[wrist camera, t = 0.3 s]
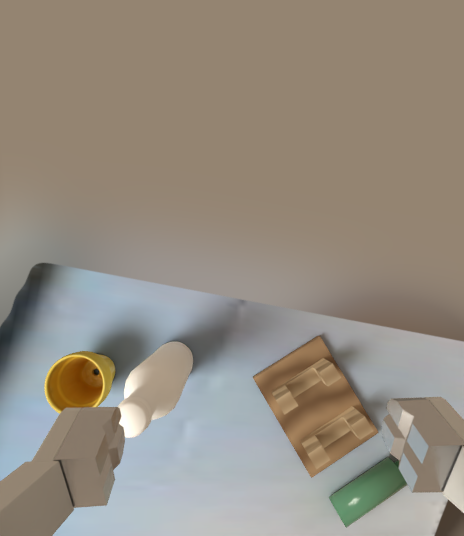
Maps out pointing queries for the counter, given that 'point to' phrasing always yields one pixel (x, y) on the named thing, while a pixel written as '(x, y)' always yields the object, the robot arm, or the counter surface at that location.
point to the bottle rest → (315, 405)
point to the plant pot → (79, 381)
